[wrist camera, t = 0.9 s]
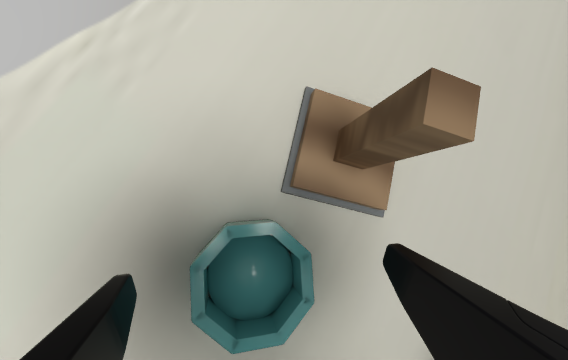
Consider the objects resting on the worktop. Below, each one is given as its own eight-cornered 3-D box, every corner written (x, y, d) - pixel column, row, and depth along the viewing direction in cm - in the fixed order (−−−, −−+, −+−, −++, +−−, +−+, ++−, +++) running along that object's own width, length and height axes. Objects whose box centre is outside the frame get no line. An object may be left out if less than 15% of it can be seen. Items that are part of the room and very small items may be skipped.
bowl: (303, 317, 22) (316, 338, 19) (199, 335, 20) (192, 361, 17) (297, 217, 23) (308, 219, 20) (195, 224, 21) (188, 229, 18)
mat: (380, 216, 25) (383, 217, 24) (281, 191, 23) (281, 191, 22) (397, 119, 26) (400, 118, 26) (305, 88, 24) (306, 86, 24)
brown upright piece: (378, 209, 24) (516, 215, 13) (289, 186, 23) (352, 168, 11) (394, 122, 26) (532, 53, 14) (311, 94, 24) (388, -11, 12)
